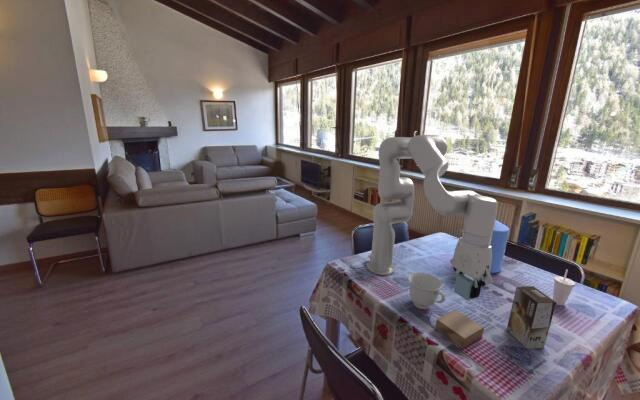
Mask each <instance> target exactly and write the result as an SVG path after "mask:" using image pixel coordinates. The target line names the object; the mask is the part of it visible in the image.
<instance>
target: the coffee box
mask: <svg viewBox="0 0 640 400" xmlns="http://www.w3.org/2000/svg"><path fill="white" fill-rule="evenodd" d="M556 303H557V302H555V301H554V300H553V298H551V297H549V296H548V295H546V294H545V293H544V292H542V291H541V290H540V289H538V288H537V287H536V286H530V285H529V286H527V285H524V286H516V287H515V292H514V295H513V300H512V304H511V309H510V313H509V317H508V322H507V326H506V330H507V331H508V332H509V333H510V334H511V335H512V337H514V338H515V339H516V341H518V342H519V344H521V345H522V346H523V347H524V348H525V349H528V350H529V349H544V348H545V345H546V343H547V338H548V335H549V330H550V327H551V324H552V321H553V318H554V317H553V316H554V314H555V309H556V306H557V304H556Z"/></svg>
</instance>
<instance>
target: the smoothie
mask: <svg viewBox="0 0 640 400" xmlns="http://www.w3.org/2000/svg"><path fill="white" fill-rule="evenodd" d="M568 271H569V269H567V268H566V269H565V272H564V275H563V276H554V278H553V281H554V284H553V290H552V300H554V301H555V302H557V303H556V305H557V304H558V305H557V306H561V305H563V306H565V305H566V302H567V301H568V298H569V297H570V294H571V293H572V290H573V289H574V288H575V287H576V282H575V281H573V280H572V279H571V278H567V275H568Z"/></svg>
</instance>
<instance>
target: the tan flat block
mask: <svg viewBox="0 0 640 400" xmlns="http://www.w3.org/2000/svg"><path fill="white" fill-rule="evenodd" d="M434 329H435V330H436V331H438V332H439V333H441V334H442V335H444V336H445V337H446V338H447V339H449V340H450V341H451V342H453V343H454V344H455V345H457V346H458V347H460V348H461V349H465V348H466V347H469V346H470V345H471V344H473V343H474V342H477V341H478V340H480V339H481V338H483V334H484V329H485V328H484V326H482V325H481V324H478V323H477V322H475V320H473V319H471V318H469V317H468V316H466V315H464V314H463V313H461V312H459V311H458V310H456V309H455V310H453V311H450V312H449V313H447V314H444V315H442V316H440V317H438V318H436V321H435V327H434Z"/></svg>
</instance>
